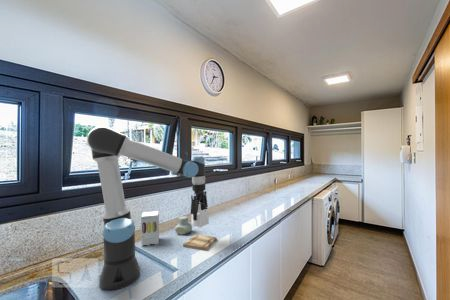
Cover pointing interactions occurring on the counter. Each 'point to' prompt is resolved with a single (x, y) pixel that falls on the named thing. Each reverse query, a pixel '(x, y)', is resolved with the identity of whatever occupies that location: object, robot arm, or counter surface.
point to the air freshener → (183, 226)
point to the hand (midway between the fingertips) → (200, 222)
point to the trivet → (200, 242)
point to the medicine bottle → (201, 215)
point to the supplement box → (150, 228)
